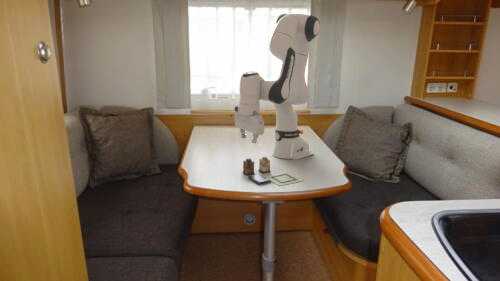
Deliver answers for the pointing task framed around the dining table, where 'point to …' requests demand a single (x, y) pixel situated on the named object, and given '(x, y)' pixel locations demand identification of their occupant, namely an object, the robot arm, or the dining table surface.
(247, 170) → the walnut stamp
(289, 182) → the form card
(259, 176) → the ink pad
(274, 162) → the dining table surface
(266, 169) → the beech stamp
